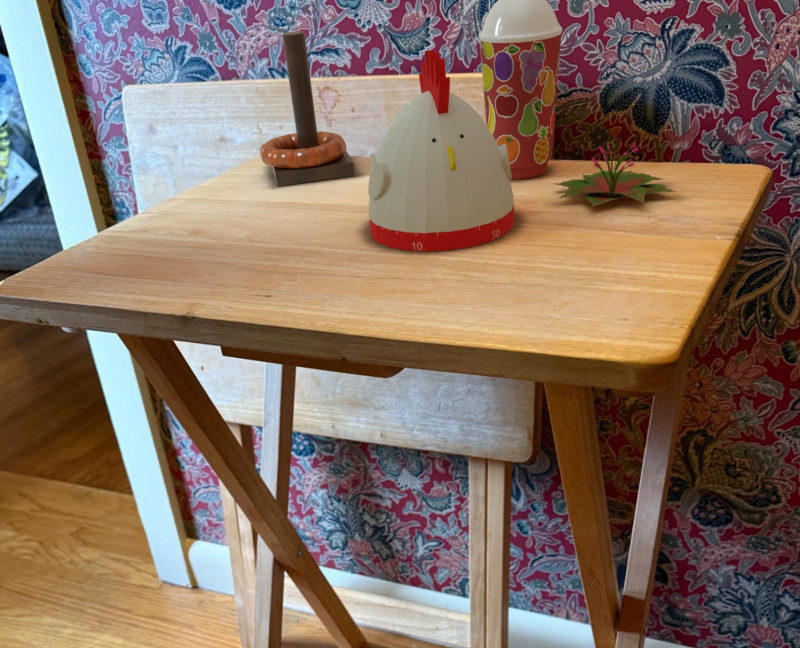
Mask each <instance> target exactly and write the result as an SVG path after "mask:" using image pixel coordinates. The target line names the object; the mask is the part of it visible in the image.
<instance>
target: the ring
mask: <svg viewBox="0 0 800 648" xmlns="http://www.w3.org/2000/svg"><path fill="white" fill-rule="evenodd" d="M317 134H318V141H319V146H316V147H311V148H304V149H299V147H298V140H297V133H296V132H294V133H288V134H284V135H280V136H277V137H273V138H271V139H269V140H268V141H266V142H265V143H263V144H262V145H261V146H260V148H259V156H260V159H261V161H262V163H263V164H264V165H266V166H269V167H271V168H272V167H276V168H281V169H299V168H306V167H314V166H319V165H323V164H326V163H329V162H332V161H335V160H337V159H338V158H339V157H341V156H342V155H343V154H344V153H345V152H346V151H347V143H346V142H345V140H344V138H343V137H342V136H341V135H340V134H338V133H334V132H330V131H317Z"/></svg>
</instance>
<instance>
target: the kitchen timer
mask: <svg viewBox="0 0 800 648" xmlns="http://www.w3.org/2000/svg"><path fill="white" fill-rule="evenodd" d="M440 56H441V55H440V52H436V49H428V50H424V61H422V62H421V73H418V79H419V80H418V81H419V87H420V88H419V89H420V94H419V95H417V96H415V97H414V98H413V99H412V100H410V101H409V102H408V103H407V104H406V105H405V106H404V108H403V109H402V110H401V111H399V113H398V114H397V115H396V117H395V118H394V119H393V121H392V123H390V126H389V128H388V130H387V131H386V133H385V135H384V137H383V139H382V141H381V144H380V146H379V149H378V152H377V154H375V153H370V158H369V159H370V160H369V171H368V172H369V173H368V174H369V175H368V176H369V177H368V189H367V190H368V191H367V192H368V218H369V227H370V229H369V230H370V237H371V238H372V239H373V240H374V241H375V242H377V243H378V244H381V245H383V246H386V247H388V248H391V249H392V248H393V249H398V250H403V251H415V252H440V251H441V252H443V251H453V250H459V249H466V248H471V247H475V246H479V245H482V244H486V243H489V242H492V241H495V240H497V239H498V238H500V237H503V236H505V235H506V234H507V233H508V232H509V231H511V230H512V229H513V226H514V223H515V199H514V192H513V186H512V183H511V180H512V179H511V178H512V176H511V170H510V165H509V159H508V153H507V146H506V144H503V145H501V146H498V144H497V142H496V140H495V138H494V137H493V135H492V133H491V131H490V130H489V128H488V127H487V125H486V121H484V120H483V117H481V115H480V114H479V113H478V112H477V111H476V110H475V109H474V107H472V106H471V104H469V103H468V102H466V101H465V100H463V98H461V97H459V96H457V95H456V94H454V93H451V92H450V91H451V77H450V76H447V70H446V58H445V57H440Z"/></svg>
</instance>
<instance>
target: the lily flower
mask: <svg viewBox="0 0 800 648" xmlns="http://www.w3.org/2000/svg"><path fill="white" fill-rule="evenodd" d="M622 144H623V141H621V142H620V144H619V148H618V151H617V155H616V158H615V163H614V162H613V161H614V160H613V153H612V151H611V148H610V145H609V143H606V145H607V149H608V151H609V156H608V154H607V153H606V152H605V149H604V148H603V147H602V146H598V149H599V151H600V153H601V154H602V155H603V159H604V161H605V163H606V166H607V167H606V168H607V170H604V169H603V168H602V166H601V164H600V163H599V161H598V160H597V159H595V157H593V158H592V159H591V160H592V162H593V167H596V168H598V169H599V170H600V171H597V172H595V173H591V174H584V173H583V174H582V178H583V179H569V180H564V181H562V182H559V183H558V182H556V183H554V185H557V186H560V187H566V188H567V189H566V191H565V192H564V194H563V195H561V196H560V197H559V199H562V198H566V197H570V196H575V195H578V194H583V193H585V194H586V193H587V194H586V195H585V197H584V198H586V200H587V201H588V202H589V203H590V204H591V205H592V207H596V206H599V205H603V204H604V203H607V202H611V201H614V200H619V199H621V198H624V195H625V196H626V197H628V198H631V199H632V200H633V199H634V200H636V201H638V202H640V203H642V204H645V198H646V197H645V195H646V194H652V193H677V192H678V191H676V190H673V188H672V189H671V188H669V187H667V186H666V185H664V184H660V183H650V182H653V181H662V180H664V178H661V177H657V176H654V175H653V176H651V174H647V173H644V172H639V173H637V172H635V171H632V170H631V169H630V170H626V169H627V168H630V167H633V166H634V165H635V163H634V162H633V158H631V159H628V160H627V161H626V163H625V164H624V165H622V166H621V167H620V165H621V164H622V163H623V161H625V160H626V159H627V158H628V157H629V156H630V154H633V153H635V152H636V151H637V152H638V151H639V148H638V147H637V148H635V147H636V146H637V144H636V143H634V144H632V145H631V146H630V147H629V148H628V150H626V152H623V154H622V155H621V156H620V157H618V156H619V152H620V148H621V147H622ZM630 150H631V151H630ZM617 159H618V160H617ZM619 167H620V169H619ZM625 170H626V171H625Z"/></svg>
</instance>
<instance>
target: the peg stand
mask: <svg viewBox="0 0 800 648" xmlns="http://www.w3.org/2000/svg"><path fill="white" fill-rule="evenodd" d="M282 41H283V42H282V43H283V47H284V55H285V56H284V57H285V61H286V68H287V76H288V84H289V89H290V97H291V105H292V109H293V110H292V112H293V118H294V126H295V133H297V140H298V147H299V149H304V148H311V147H316V146H319V141H318V134H317V132H318V126H317V119H316V118H317V117H316V112H315V104H314V97H313V96H314V95H313V89H312V81H311V80H312V79H311V73H310V65H309V57H308V49H307V42H306V35H305V31H302V30H298V31H297V30H296V31H287V32H284V33H282ZM271 169H272V172H273V175H274V180H275V183H276V187H285V186H291V185H299V184H306V183H314V182H321V181H327V180H335V179H341V178H348V177H355V176H356V175H355V165H354V162H353V160H352V158H351V156H350V154H349V152H348V150H346V152H345V153H344V154H343V155H342V156H341V157H339V158H338V159H337V160H335V161H332V162H329V163H326V164H323V165H319V166H314V167H306V168H299V169H281V168H276V167H272V166H271Z"/></svg>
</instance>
